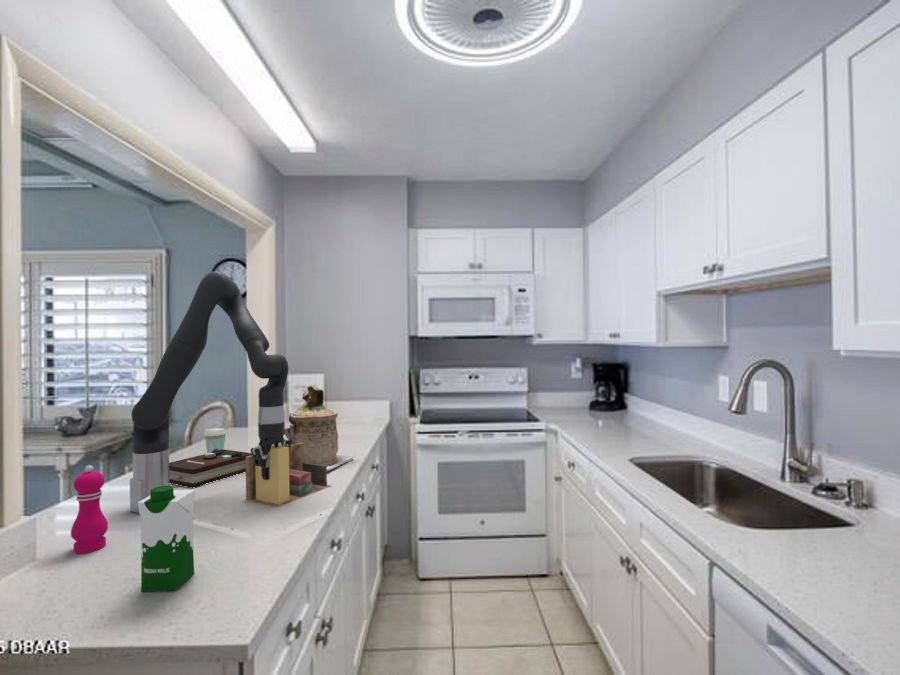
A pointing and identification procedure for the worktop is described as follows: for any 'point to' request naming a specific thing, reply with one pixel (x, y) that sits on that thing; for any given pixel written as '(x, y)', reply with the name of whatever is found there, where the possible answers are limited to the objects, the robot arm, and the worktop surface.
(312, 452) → the cookie jar
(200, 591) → the worktop surface
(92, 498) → the pepper mill
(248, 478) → the shelf
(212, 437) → the coffee cup
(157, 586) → the milk carton
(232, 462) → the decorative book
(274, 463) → the ochre book
